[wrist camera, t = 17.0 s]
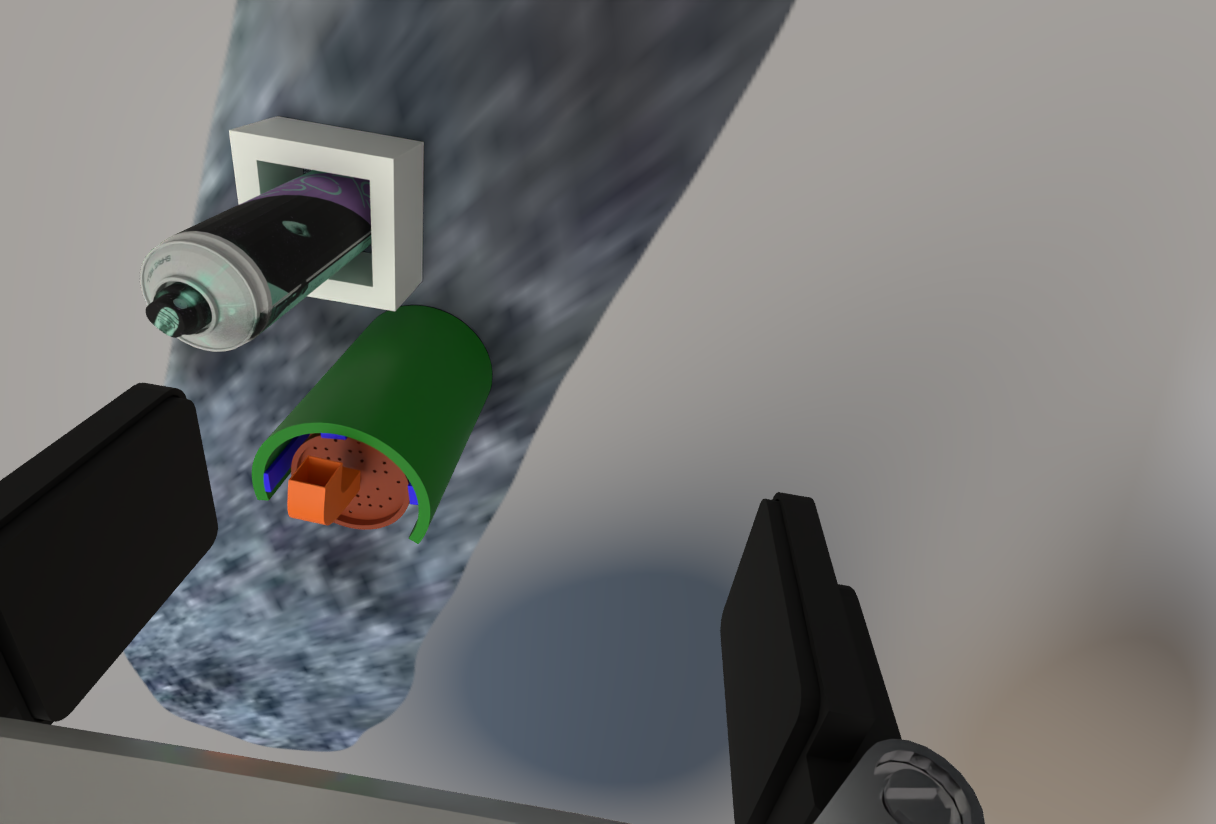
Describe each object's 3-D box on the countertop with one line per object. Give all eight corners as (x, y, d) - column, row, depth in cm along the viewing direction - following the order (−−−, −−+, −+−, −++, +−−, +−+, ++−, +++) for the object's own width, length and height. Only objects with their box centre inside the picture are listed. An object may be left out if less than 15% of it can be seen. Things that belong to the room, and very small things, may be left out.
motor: (367, 405, 54) (227, 592, 37) (350, 299, 50) (181, 456, 32) (494, 416, 54) (411, 609, 37) (489, 309, 49) (391, 474, 32)
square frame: (277, 116, 43) (228, 130, 39) (423, 141, 43) (393, 158, 39) (290, 258, 48) (249, 286, 44) (422, 281, 48) (395, 311, 44)
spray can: (397, 170, 45) (226, 275, 27) (391, 250, 47) (233, 390, 30) (313, 148, 44) (88, 241, 27) (312, 230, 47) (108, 360, 30)
